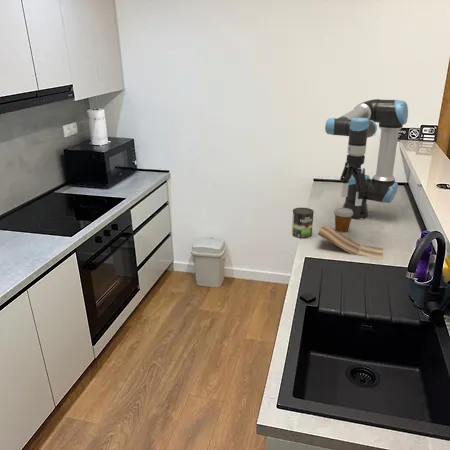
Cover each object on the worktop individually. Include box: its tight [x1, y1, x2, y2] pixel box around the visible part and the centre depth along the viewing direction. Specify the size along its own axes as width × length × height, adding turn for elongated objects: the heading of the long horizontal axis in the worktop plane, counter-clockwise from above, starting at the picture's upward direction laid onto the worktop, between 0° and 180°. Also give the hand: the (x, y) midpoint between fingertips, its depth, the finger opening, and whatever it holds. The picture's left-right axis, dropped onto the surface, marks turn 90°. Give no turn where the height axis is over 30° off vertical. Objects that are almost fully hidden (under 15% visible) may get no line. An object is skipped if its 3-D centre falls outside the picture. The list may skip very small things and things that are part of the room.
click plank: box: [317, 223, 361, 256], centre depth 201 cm, size 12×20×1 cm, turn 68°
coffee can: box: [291, 207, 315, 240], centre depth 215 cm, size 10×10×14 cm
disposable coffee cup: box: [333, 207, 353, 233], centre depth 221 cm, size 10×10×12 cm
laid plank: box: [358, 244, 384, 260], centre depth 197 cm, size 12×10×1 cm
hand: (350, 201), depth 194 cm, fingers open, 13 cm apart
